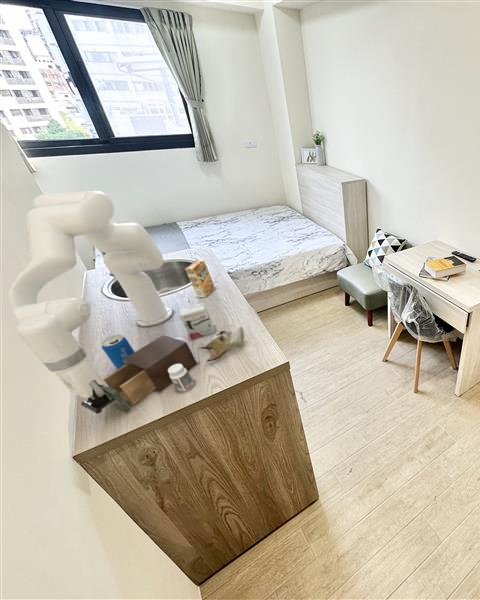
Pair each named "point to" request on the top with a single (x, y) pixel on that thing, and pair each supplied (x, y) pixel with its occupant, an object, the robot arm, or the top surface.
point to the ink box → (197, 320)
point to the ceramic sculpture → (224, 343)
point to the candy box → (200, 278)
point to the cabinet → (162, 359)
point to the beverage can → (117, 349)
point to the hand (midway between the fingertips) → (102, 404)
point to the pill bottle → (180, 377)
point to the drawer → (124, 388)
